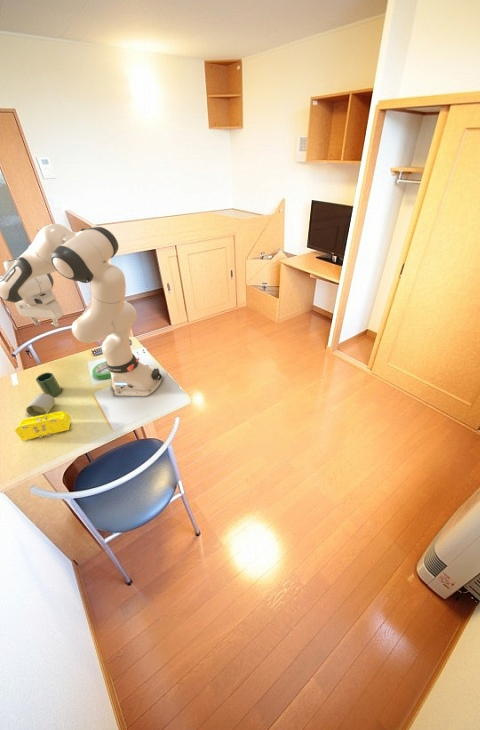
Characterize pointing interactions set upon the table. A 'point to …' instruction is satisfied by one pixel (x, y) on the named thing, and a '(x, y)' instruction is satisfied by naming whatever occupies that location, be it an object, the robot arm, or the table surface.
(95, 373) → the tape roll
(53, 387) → the green cup
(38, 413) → the ceramic mug
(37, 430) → the yellow toy chassis
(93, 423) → the table surface
